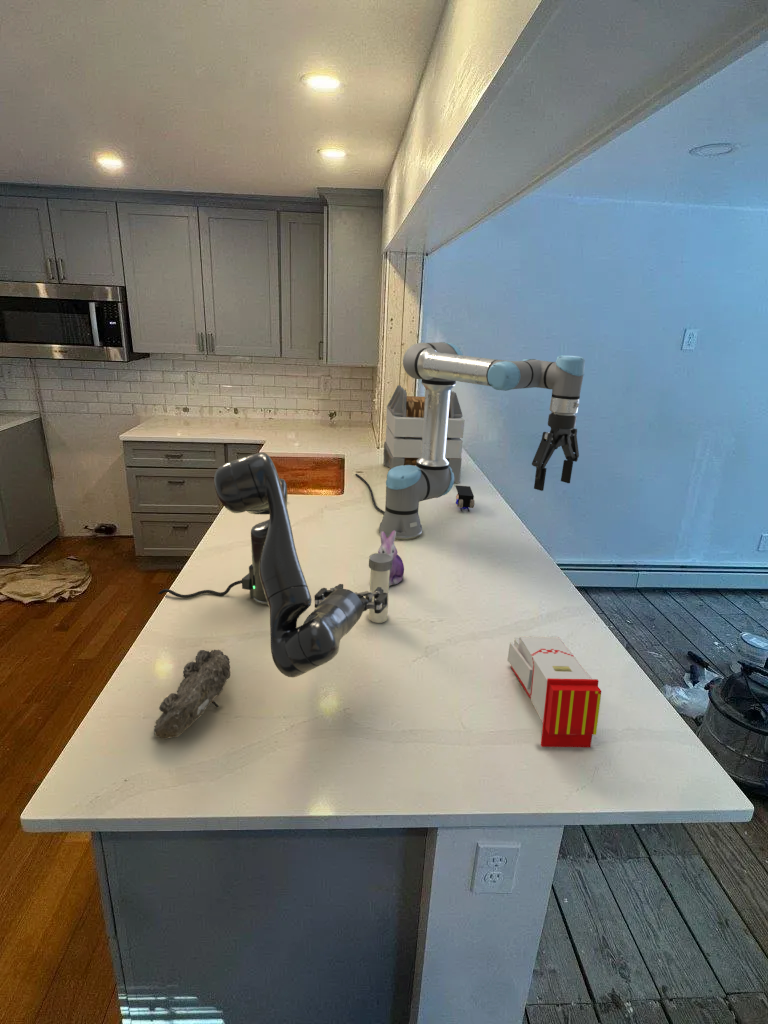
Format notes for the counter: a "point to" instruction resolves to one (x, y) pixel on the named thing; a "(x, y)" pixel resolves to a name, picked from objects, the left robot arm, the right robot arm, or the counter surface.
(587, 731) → the toy
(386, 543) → the figurine
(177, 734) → the fossil
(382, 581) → the jar
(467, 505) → the figurine character
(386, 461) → the grey brown slatted box
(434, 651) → the counter surface
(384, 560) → the lid
